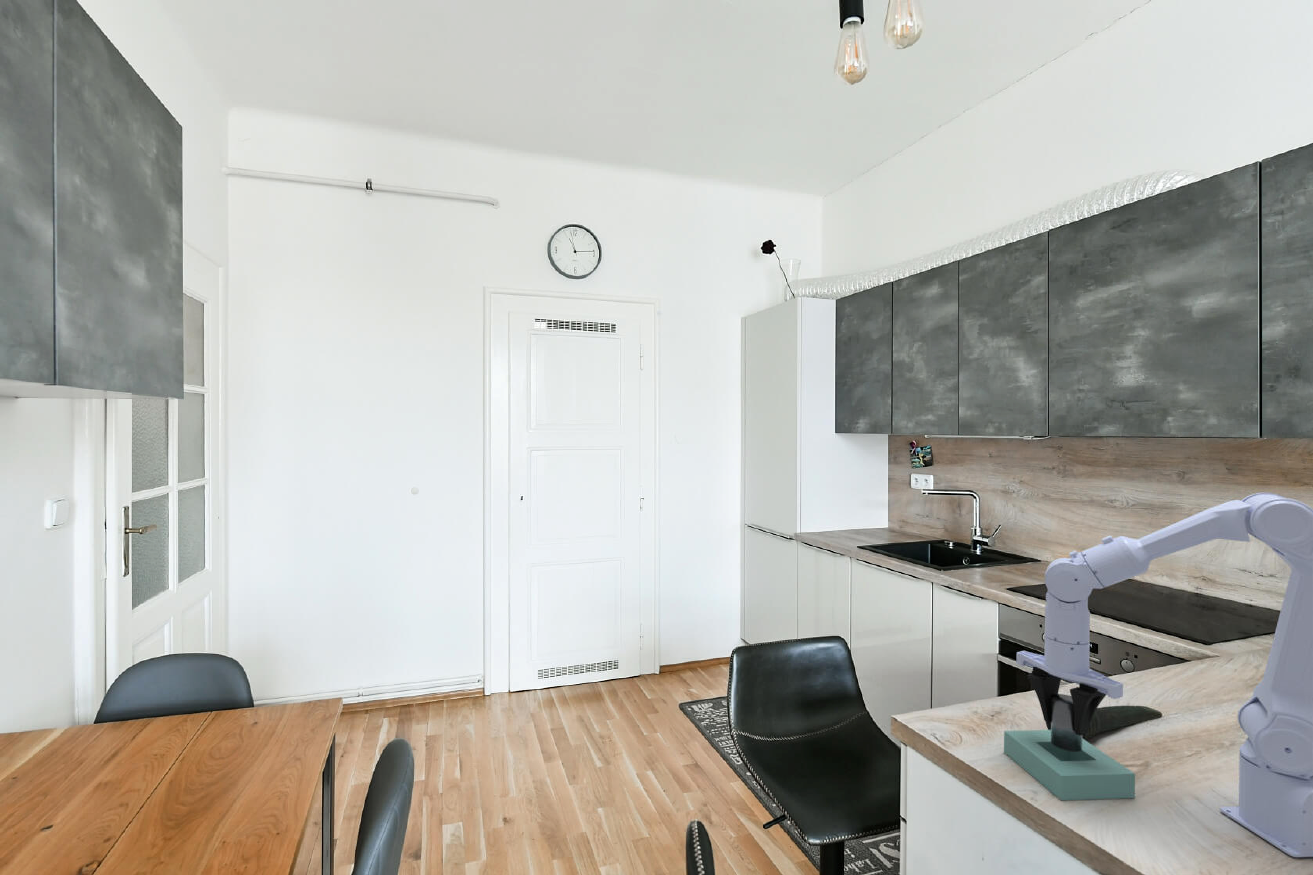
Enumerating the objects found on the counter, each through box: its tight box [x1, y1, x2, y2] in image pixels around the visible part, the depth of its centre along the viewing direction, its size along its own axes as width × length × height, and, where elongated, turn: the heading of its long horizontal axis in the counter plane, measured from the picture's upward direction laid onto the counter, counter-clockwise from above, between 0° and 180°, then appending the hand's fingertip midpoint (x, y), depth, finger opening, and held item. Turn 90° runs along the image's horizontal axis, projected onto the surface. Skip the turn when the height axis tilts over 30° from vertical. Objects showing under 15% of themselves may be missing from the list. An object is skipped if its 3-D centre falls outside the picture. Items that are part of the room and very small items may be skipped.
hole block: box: [1003, 729, 1136, 801], centre depth 94 cm, size 13×11×4 cm
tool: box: [1044, 705, 1163, 741], centre depth 108 cm, size 28×6×7 cm, turn 110°
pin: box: [1051, 693, 1082, 752], centre depth 94 cm, size 4×4×7 cm
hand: (1065, 726), depth 94 cm, fingers closed on pin, 4 cm apart
